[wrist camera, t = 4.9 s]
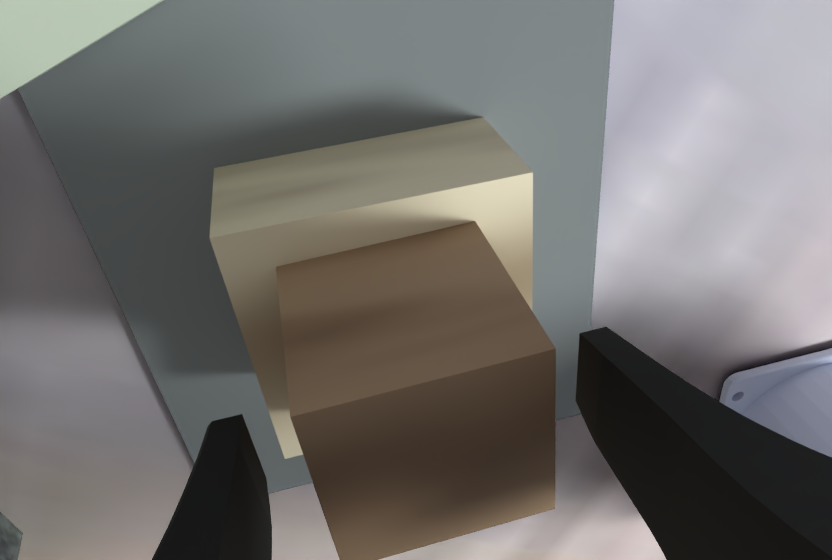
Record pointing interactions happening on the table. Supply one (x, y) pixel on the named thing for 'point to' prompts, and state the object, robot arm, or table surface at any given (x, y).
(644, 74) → the table surface
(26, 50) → the sage block
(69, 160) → the slate mat
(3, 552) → the mortar and pestle
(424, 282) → the walnut cube
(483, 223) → the beech block
